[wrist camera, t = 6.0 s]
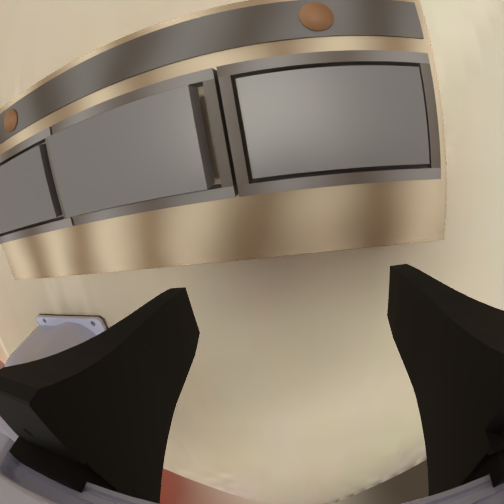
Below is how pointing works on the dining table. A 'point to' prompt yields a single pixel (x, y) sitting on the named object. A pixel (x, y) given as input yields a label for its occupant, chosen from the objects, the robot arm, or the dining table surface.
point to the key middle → (133, 153)
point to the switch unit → (233, 142)
